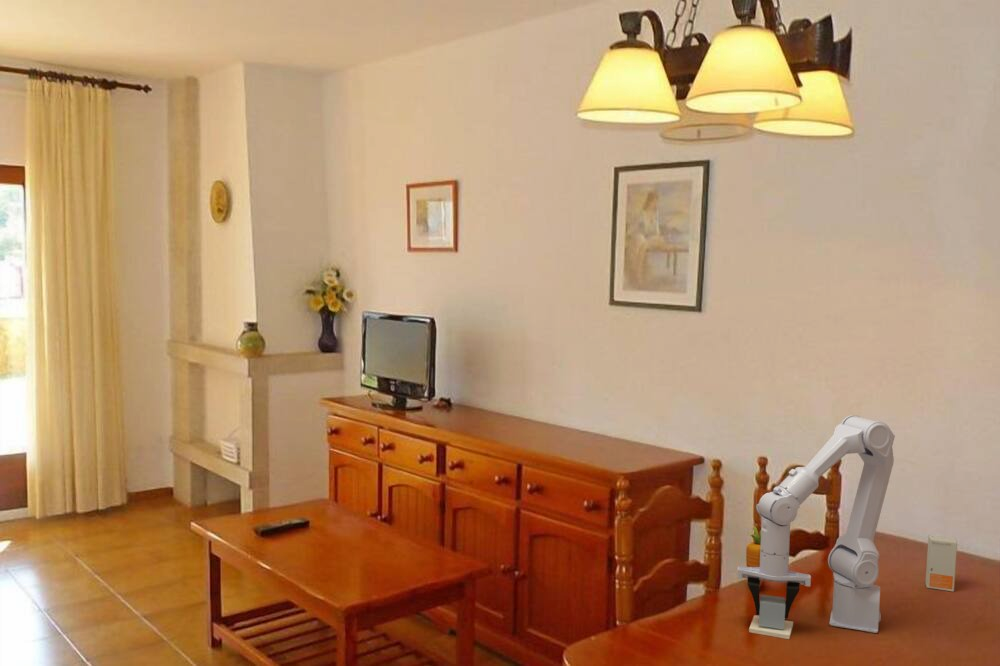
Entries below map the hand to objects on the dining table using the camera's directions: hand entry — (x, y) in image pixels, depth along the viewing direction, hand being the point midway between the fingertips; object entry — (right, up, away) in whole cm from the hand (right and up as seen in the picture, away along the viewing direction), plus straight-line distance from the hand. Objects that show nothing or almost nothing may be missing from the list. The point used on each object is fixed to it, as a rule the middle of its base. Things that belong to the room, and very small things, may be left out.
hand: (771, 615), depth 185 cm
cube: (0, -2, 0) cm, 2 cm away
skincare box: (+49, -3, +28) cm, 56 cm away
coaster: (0, -3, 0) cm, 3 cm away
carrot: (+3, -2, +23) cm, 23 cm away
